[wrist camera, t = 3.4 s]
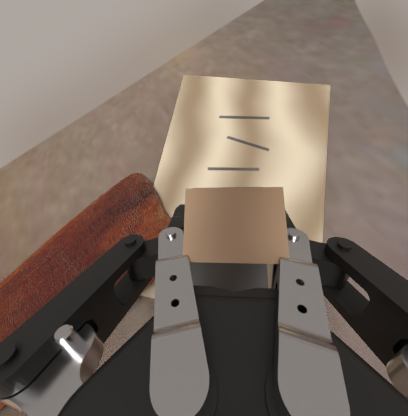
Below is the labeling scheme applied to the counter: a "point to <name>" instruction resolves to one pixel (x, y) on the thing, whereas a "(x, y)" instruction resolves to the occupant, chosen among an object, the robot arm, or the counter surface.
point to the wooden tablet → (80, 248)
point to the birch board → (248, 145)
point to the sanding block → (234, 235)
